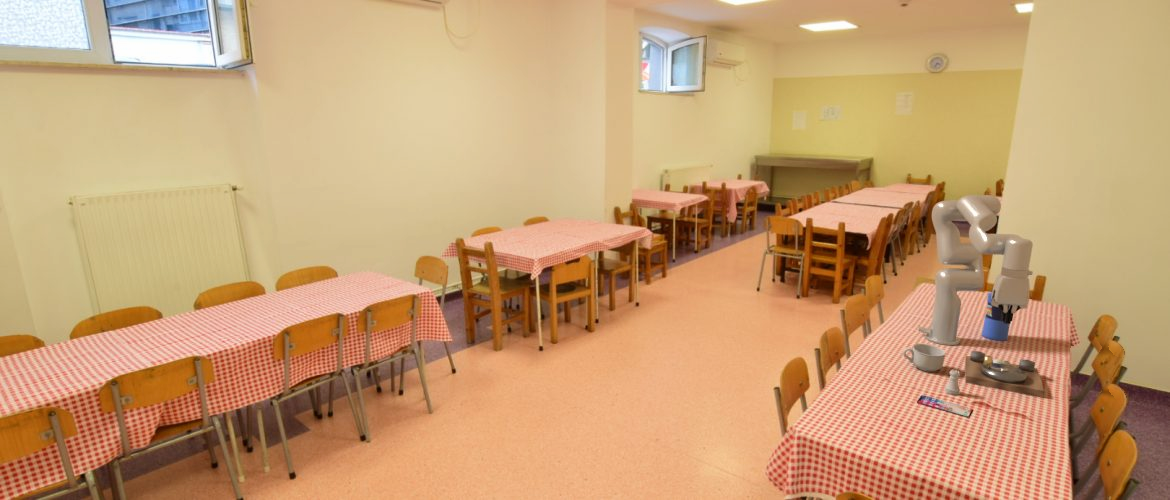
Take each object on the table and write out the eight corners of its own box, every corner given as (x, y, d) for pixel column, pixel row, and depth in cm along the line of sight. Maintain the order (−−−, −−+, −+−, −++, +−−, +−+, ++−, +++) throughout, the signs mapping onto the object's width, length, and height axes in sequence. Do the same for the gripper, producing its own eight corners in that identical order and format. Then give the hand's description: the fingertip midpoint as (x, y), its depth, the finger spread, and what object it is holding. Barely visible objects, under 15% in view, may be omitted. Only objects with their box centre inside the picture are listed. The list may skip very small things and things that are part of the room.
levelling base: (965, 382, 205) (967, 368, 203) (965, 361, 223) (967, 348, 221) (1043, 397, 193) (1045, 382, 192) (1035, 374, 211) (1038, 360, 210)
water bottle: (984, 339, 246) (993, 283, 240) (979, 332, 254) (987, 278, 249) (1010, 342, 242) (1020, 286, 237) (1004, 335, 251) (1013, 280, 245)
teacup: (940, 365, 219) (943, 346, 217) (944, 376, 209) (947, 356, 208) (899, 359, 225) (902, 340, 223) (901, 370, 215) (904, 350, 213)
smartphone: (969, 417, 179) (915, 402, 189) (968, 419, 180) (915, 404, 189) (973, 408, 185) (921, 394, 195) (973, 410, 185) (921, 396, 195)
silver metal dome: (981, 377, 202) (984, 362, 201) (980, 365, 213) (983, 350, 211) (1027, 386, 195) (1030, 370, 194) (1024, 373, 206) (1026, 357, 205)
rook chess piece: (954, 396, 194) (958, 374, 192) (941, 391, 198) (944, 369, 196) (962, 393, 196) (965, 372, 194) (949, 388, 200) (952, 367, 198)
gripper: (1034, 272, 202) (1026, 321, 206) (985, 269, 206) (978, 317, 210) (1044, 277, 195) (1035, 328, 199) (993, 274, 199) (985, 323, 203)
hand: (1006, 322), depth 205 cm, fingers closed
